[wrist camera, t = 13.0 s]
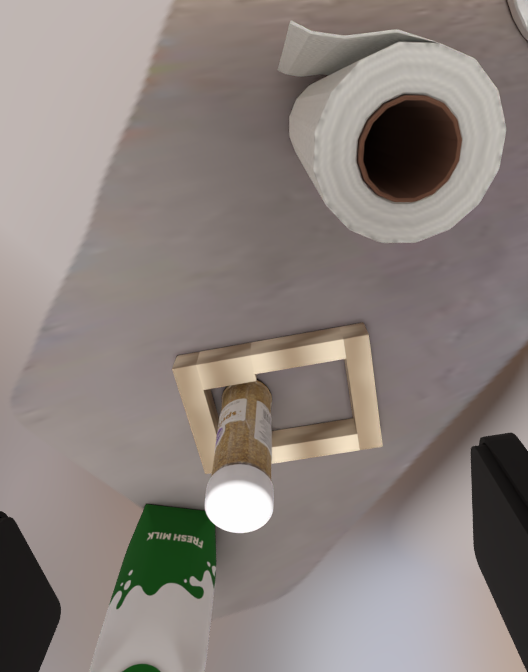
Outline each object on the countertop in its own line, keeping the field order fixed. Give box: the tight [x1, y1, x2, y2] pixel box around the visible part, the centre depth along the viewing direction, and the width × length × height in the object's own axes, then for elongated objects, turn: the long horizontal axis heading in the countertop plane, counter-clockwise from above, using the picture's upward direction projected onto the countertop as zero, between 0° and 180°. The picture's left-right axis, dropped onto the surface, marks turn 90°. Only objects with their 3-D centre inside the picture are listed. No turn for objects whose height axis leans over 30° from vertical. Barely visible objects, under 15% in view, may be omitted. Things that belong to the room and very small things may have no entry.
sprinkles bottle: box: [205, 380, 274, 533], centre depth 38 cm, size 5×5×14 cm
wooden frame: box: [172, 323, 383, 474], centre depth 43 cm, size 16×11×2 cm
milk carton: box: [89, 504, 216, 672], centre depth 42 cm, size 9×9×20 cm
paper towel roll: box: [278, 21, 506, 243], centre depth 25 cm, size 7×6×21 cm
